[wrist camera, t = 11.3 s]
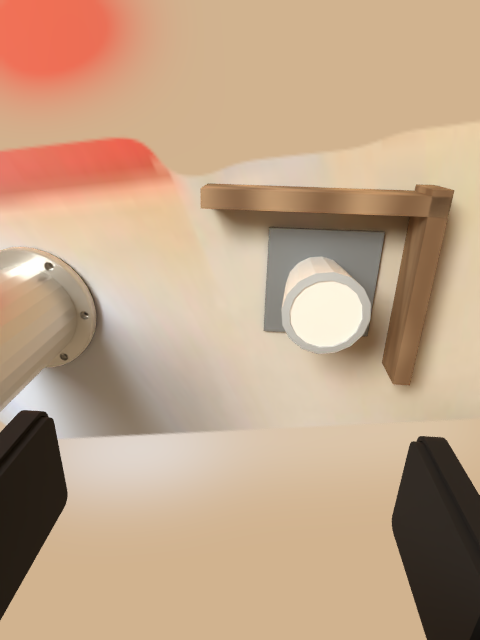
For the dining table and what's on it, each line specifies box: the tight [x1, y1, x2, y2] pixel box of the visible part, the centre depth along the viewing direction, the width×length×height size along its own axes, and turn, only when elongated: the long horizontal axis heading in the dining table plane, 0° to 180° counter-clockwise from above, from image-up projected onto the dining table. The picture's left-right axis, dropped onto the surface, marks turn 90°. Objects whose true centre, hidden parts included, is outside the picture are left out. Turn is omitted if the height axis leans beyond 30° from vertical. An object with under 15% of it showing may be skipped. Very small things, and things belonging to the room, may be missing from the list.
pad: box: [264, 227, 385, 336], centre depth 38 cm, size 10×10×1 cm
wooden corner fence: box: [201, 184, 454, 385], centre depth 36 cm, size 19×17×4 cm
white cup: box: [281, 256, 371, 354], centre depth 34 cm, size 7×7×7 cm
